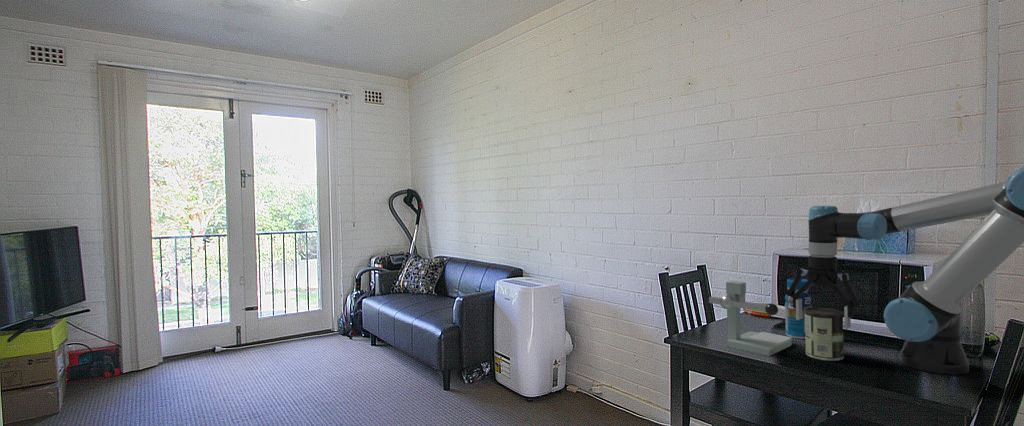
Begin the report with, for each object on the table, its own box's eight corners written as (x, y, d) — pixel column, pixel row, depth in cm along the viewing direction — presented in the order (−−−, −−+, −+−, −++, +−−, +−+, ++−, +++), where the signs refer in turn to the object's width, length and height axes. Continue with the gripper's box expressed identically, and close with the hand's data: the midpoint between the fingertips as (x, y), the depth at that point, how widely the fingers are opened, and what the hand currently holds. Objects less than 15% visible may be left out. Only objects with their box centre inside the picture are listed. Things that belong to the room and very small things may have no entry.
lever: (780, 315, 154) (780, 302, 154) (774, 317, 152) (774, 304, 151) (713, 304, 171) (713, 293, 171) (707, 306, 169) (707, 294, 169)
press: (793, 344, 166) (792, 281, 165) (769, 356, 155) (767, 288, 155) (749, 335, 178) (748, 276, 177) (723, 345, 167) (722, 283, 166)
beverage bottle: (780, 332, 180) (780, 278, 179) (805, 332, 179) (804, 277, 178) (791, 339, 171) (790, 282, 171) (817, 339, 170) (816, 281, 170)
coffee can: (835, 350, 158) (834, 307, 158) (850, 361, 148) (849, 315, 148) (799, 349, 160) (799, 306, 160) (812, 360, 150) (811, 314, 150)
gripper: (874, 258, 146) (874, 329, 147) (785, 251, 165) (785, 313, 166) (865, 261, 141) (865, 334, 142) (775, 253, 161) (775, 317, 162)
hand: (822, 323), depth 154 cm, fingers open, 13 cm apart
